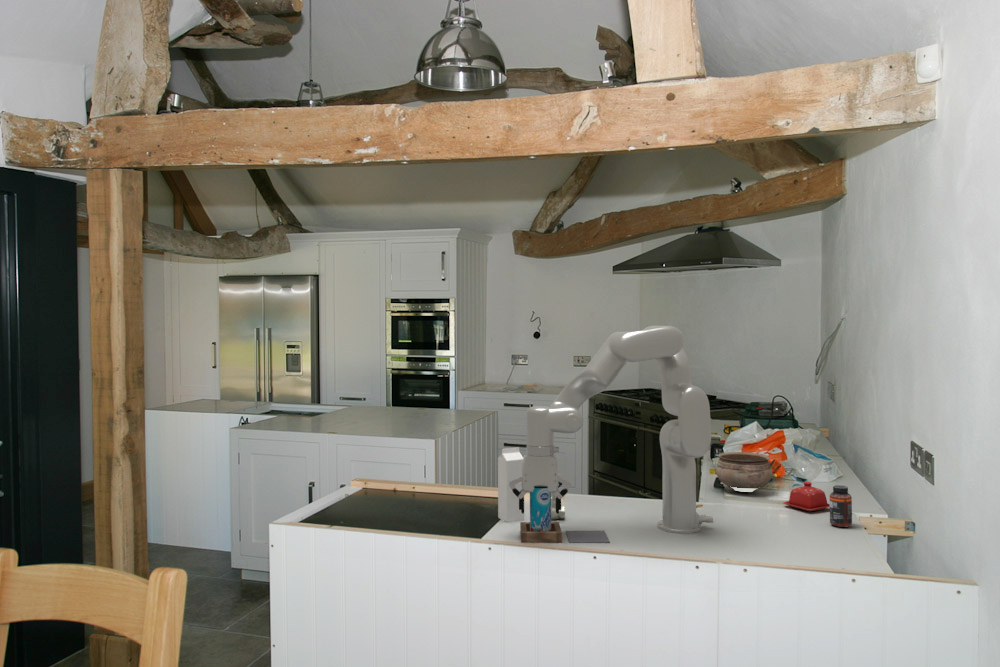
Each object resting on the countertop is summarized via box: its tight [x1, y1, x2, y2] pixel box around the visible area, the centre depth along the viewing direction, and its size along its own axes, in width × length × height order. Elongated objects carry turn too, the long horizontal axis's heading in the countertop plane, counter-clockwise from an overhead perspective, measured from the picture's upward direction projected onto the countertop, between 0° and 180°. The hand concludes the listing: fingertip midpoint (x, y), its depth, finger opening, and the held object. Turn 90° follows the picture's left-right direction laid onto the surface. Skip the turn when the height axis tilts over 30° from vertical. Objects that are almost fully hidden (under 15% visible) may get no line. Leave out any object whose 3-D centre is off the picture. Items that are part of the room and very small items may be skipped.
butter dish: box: [783, 481, 830, 512], centre depth 234 cm, size 12×12×8 cm
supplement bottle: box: [829, 484, 853, 528], centre depth 214 cm, size 6×6×11 cm
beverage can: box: [529, 486, 552, 532], centre depth 202 cm, size 6×6×15 cm
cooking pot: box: [715, 451, 773, 488], centre depth 258 cm, size 25×19×12 cm
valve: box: [551, 481, 566, 521], centre depth 221 cm, size 7×7×12 cm
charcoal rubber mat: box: [565, 529, 611, 544], centre depth 202 cm, size 11×11×1 cm
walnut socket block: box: [520, 521, 563, 544], centre depth 202 cm, size 11×11×3 cm
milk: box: [497, 446, 525, 523], centre depth 221 cm, size 6×6×22 cm
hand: (539, 512), depth 202 cm, fingers open, 9 cm apart
